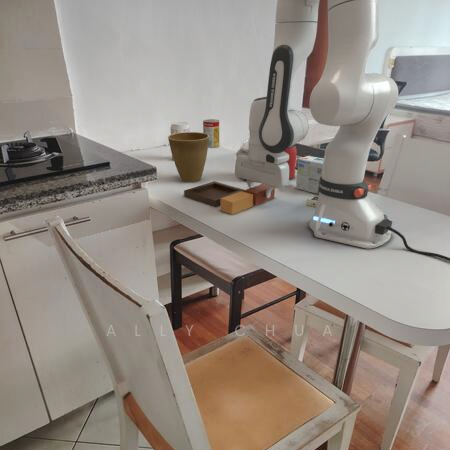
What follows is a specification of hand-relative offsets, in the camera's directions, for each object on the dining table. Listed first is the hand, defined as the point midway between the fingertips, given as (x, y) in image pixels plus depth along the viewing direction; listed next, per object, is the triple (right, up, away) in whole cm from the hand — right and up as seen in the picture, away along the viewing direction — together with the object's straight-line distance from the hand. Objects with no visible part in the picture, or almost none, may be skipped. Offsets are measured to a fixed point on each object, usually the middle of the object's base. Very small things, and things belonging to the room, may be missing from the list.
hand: (259, 195), depth 138 cm
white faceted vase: (0, +13, +23) cm, 26 cm away
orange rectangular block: (-8, -6, -6) cm, 12 cm away
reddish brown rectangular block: (0, -1, +1) cm, 2 cm away
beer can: (+12, +13, +23) cm, 29 cm away
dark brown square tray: (-15, +1, +4) cm, 16 cm away
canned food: (-18, +42, +70) cm, 83 cm away
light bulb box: (+20, +5, +11) cm, 23 cm away
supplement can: (-31, +28, +47) cm, 63 cm away
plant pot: (-25, +11, +20) cm, 34 cm away
